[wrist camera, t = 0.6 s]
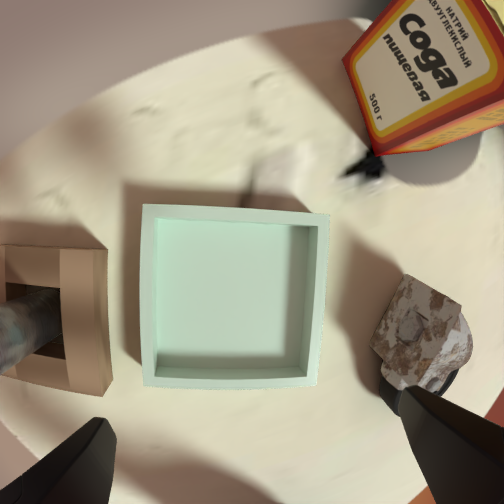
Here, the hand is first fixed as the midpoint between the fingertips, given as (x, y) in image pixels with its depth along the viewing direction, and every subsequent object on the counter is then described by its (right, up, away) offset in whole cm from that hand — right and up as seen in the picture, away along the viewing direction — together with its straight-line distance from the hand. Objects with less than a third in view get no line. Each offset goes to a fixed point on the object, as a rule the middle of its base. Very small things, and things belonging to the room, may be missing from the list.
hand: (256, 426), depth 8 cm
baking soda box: (+12, +18, +16) cm, 27 cm away
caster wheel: (+14, -4, +17) cm, 23 cm away
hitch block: (-15, 0, +12) cm, 19 cm away
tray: (-2, +2, +14) cm, 14 cm away
